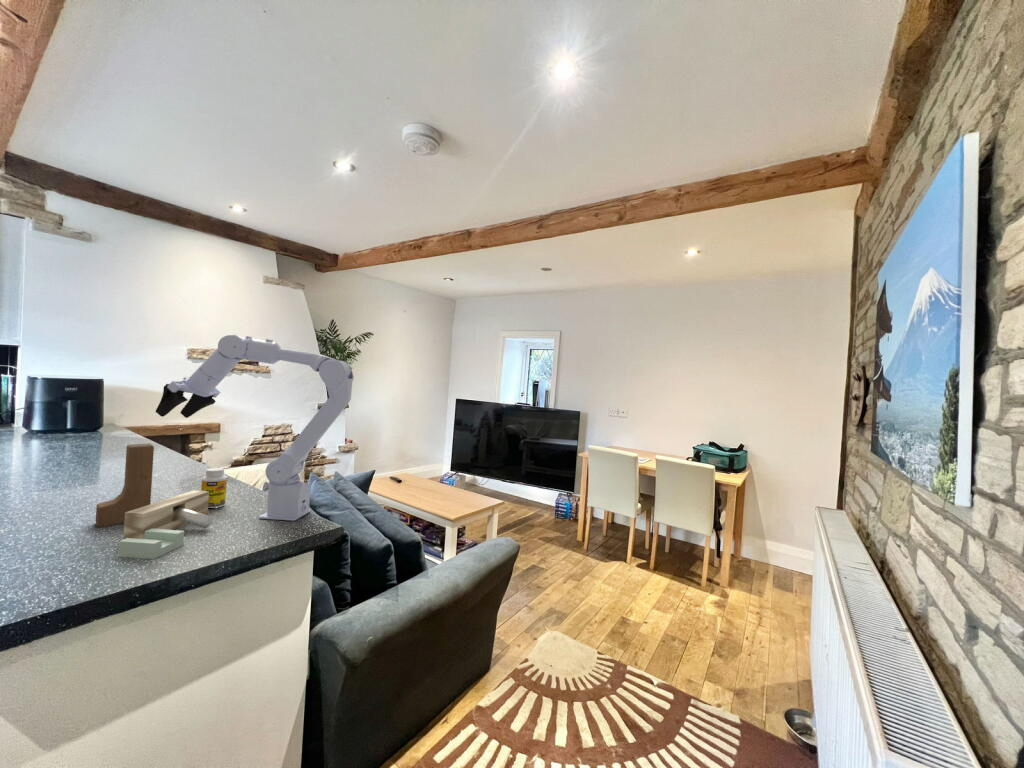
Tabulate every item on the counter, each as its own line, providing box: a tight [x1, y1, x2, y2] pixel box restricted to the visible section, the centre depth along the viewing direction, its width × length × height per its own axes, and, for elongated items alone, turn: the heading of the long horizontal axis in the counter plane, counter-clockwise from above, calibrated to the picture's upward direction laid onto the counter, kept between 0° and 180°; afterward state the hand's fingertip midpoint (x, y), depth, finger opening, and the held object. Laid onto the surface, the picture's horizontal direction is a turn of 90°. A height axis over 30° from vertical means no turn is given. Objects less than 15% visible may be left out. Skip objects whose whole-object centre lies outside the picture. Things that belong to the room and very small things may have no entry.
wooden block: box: [95, 443, 155, 528], centre depth 97 cm, size 9×4×18 cm, turn 139°
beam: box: [122, 490, 209, 540], centre depth 94 cm, size 4×18×6 cm, turn 179°
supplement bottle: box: [200, 467, 228, 509], centre depth 110 cm, size 6×6×10 cm
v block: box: [117, 529, 185, 560], centre depth 82 cm, size 7×7×3 cm
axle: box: [172, 506, 214, 530], centre depth 94 cm, size 10×3×3 cm, turn 89°
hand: (171, 414), depth 102 cm, fingers open, 7 cm apart
